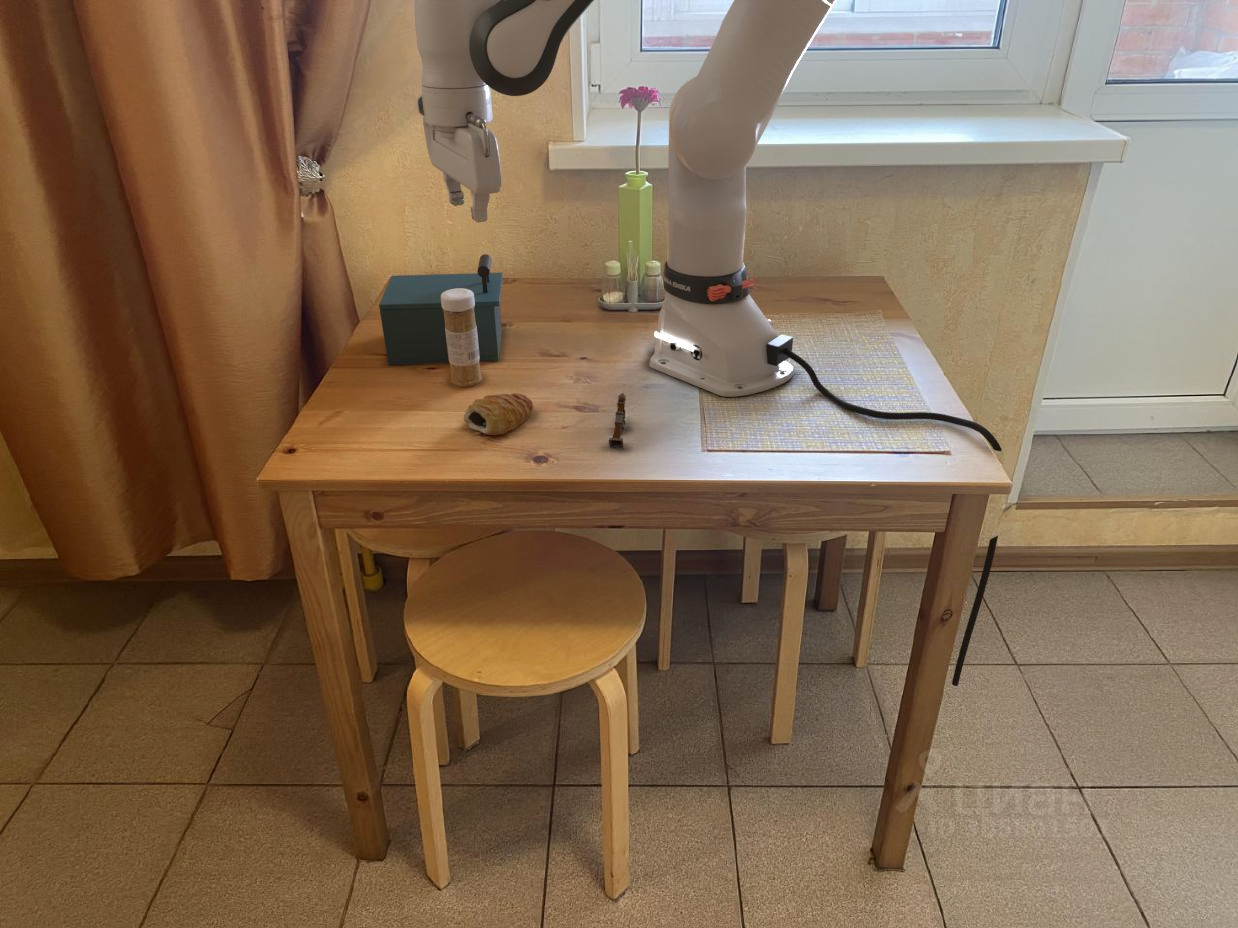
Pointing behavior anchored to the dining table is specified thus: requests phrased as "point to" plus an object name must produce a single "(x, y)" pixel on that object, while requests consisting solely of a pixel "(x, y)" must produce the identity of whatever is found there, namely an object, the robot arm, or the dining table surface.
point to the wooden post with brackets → (618, 424)
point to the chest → (435, 335)
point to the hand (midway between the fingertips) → (468, 212)
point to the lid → (442, 288)
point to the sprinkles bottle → (461, 336)
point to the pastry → (498, 413)
